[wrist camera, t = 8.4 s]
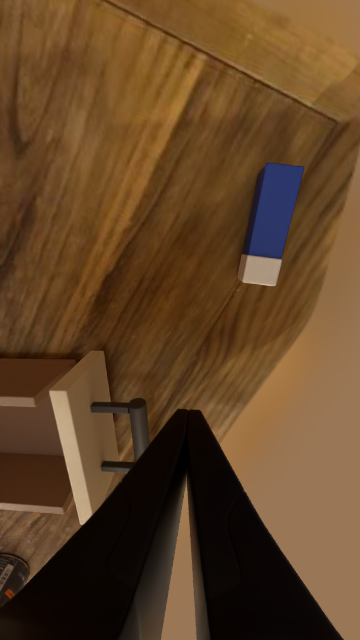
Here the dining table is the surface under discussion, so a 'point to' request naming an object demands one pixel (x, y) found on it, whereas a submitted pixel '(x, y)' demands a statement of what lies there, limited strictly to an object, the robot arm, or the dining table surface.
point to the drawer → (61, 434)
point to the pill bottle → (11, 576)
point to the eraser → (269, 223)
